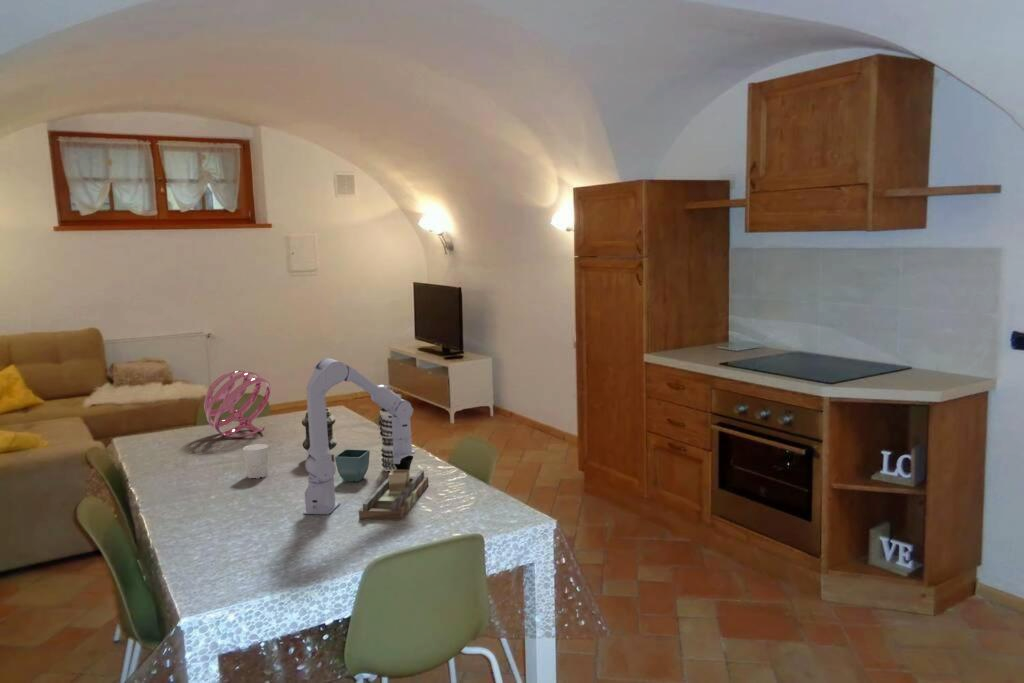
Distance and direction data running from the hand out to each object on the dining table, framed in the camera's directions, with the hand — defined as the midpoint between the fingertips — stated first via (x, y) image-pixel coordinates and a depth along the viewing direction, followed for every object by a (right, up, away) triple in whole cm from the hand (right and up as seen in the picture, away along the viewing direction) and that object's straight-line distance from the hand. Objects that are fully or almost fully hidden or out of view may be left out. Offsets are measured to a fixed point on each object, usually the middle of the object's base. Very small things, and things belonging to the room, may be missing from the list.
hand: (404, 479), depth 240 cm
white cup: (-52, -3, +21) cm, 57 cm away
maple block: (-1, -2, -5) cm, 5 cm away
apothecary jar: (-36, 0, +40) cm, 54 cm away
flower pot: (-18, -3, +13) cm, 23 cm away
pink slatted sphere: (-79, +4, +80) cm, 113 cm away
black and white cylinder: (-7, -1, +25) cm, 25 cm away
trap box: (-1, -5, -8) cm, 9 cm away
